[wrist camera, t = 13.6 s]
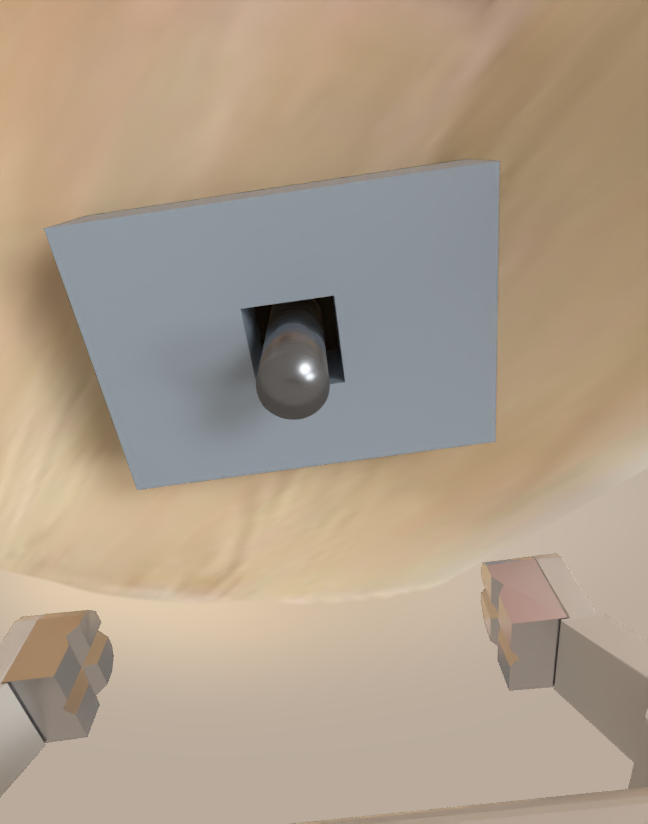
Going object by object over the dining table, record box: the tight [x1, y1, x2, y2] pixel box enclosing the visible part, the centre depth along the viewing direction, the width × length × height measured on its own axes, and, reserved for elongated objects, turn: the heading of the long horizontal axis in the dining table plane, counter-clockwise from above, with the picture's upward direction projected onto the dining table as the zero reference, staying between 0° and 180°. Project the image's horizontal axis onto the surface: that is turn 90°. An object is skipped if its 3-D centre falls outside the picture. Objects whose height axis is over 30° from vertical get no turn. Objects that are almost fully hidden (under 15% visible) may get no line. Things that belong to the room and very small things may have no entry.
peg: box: [256, 299, 330, 420], centre depth 26 cm, size 3×3×10 cm
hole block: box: [44, 159, 500, 490], centre depth 28 cm, size 20×14×5 cm
